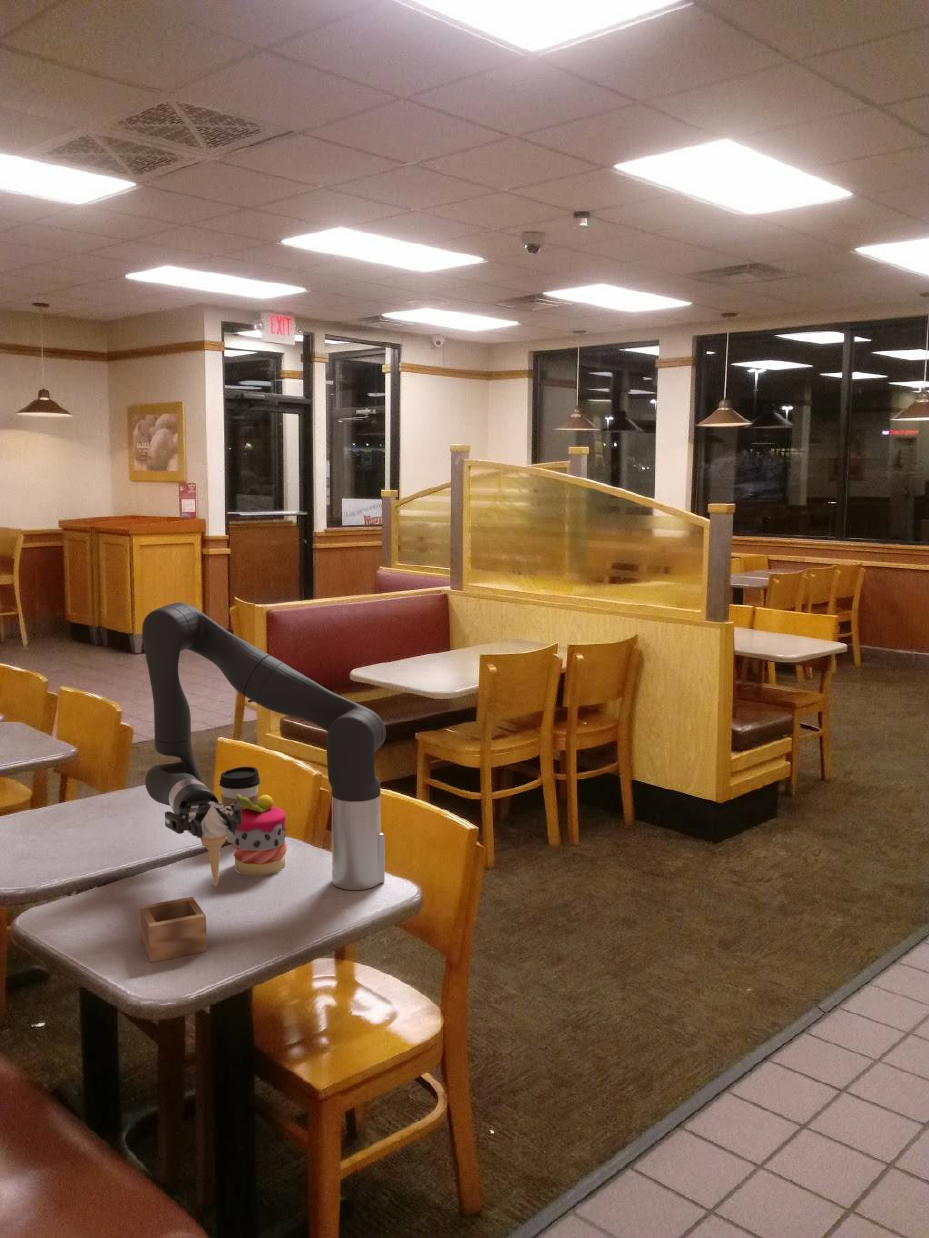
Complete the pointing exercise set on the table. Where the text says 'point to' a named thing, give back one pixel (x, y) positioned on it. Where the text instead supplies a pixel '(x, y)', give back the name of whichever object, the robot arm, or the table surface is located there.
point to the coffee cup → (239, 788)
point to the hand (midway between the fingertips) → (217, 829)
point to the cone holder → (172, 929)
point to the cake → (260, 838)
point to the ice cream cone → (214, 838)
